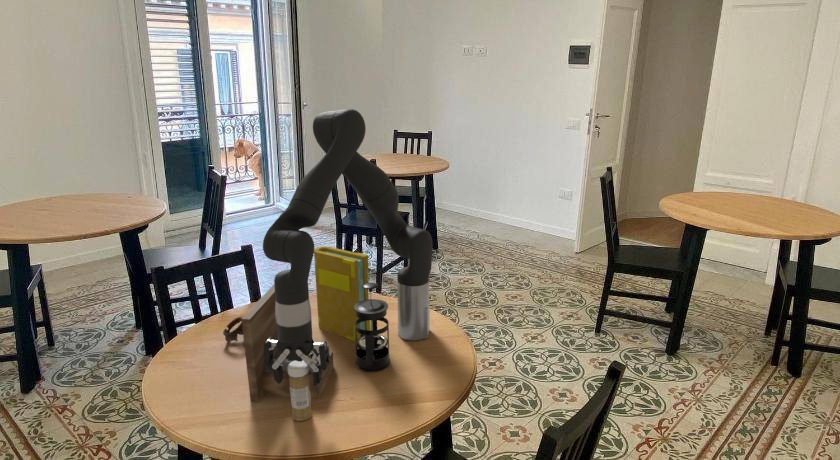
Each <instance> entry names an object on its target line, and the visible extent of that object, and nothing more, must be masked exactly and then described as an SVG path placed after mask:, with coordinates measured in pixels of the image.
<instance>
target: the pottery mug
mask: <svg viewBox="0 0 840 460" xmlns="http://www.w3.org/2000/svg"><path fill="white" fill-rule="evenodd" d="M243 317H244V316H238V317H236V318H234V319H232V320H231V321H230V322H229V323H228V324H227V325H226V328H224V329H223V332H222V335H223V336H225V337H224V338H225V342H228V343H229V342H232V341H235V342H238V335H239V336H243V328H242V318H243ZM239 323H240V324H239ZM237 324H239V325H237ZM236 325H237V327H236V328H235V329H233V328H234V327H235V326H236ZM232 329H233V330H232ZM231 330H232V331H231Z"/></svg>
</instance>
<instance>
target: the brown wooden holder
mask: <svg viewBox="0 0 840 460" xmlns="http://www.w3.org/2000/svg"><path fill="white" fill-rule="evenodd" d="M275 305H276V300H275V286H274V284H273V285H272V286H271V287H270V288H269V289H267V291H266V292H265V293H264V294H263V295H262V296H261V297H260V298H259V300H258V301H256V303H254V305H253V306H252V307H251V308H250V309H249V310H248V312H246V313H245V315H244V316H242V317H243V318H242V321H241V322H242V328H243V335H242V336H243V343H244V354H245V362H246V371H247V382H248V390H249V399H250V402H251V403H259V402H260V401H261V399H262V398H263V396H272V397H273V396H276V397H290V398H291V395H290V381H289V374H288V365H289V364H290V363H291V362H293V361H288V359H286V358H285V359H284V360H283V362H282V363H281V365H282V370H283V380H282V382H281V383H280V384H279V383H277V381H275V379H274V371H273V368H272V367H271V366H265V365H264V343H265V341H266V340H267V339H268V338H269V337H271V338H272V339H273V340H277V341H278V338H277V327H276V318H275ZM327 346H328V355H329V364H328V366H327V368H326V370H321V373H322V379H321V381H320V383H319V384H318V385H317V386H314V383H313V371H314V370H313V369H312V368H311V367H310V366H308V368H309V371H308V378H309V390H310V398H311V399H320V397H321V394H322V393H323V391H324V389H325V387H326V385H327V382H328V381H329V379H330V377H331V374H332V372H333V370H334V368H335V367H334V366H335V365H334V350H330V345H329V344H327ZM312 351H313V352H314V353H315V354H316V357H317V358H318V360H319V361H320V354H319V353H317V350H316V349H315V348H313V350H312ZM280 355H281V352H280V351H279V350H278V348H277V347H276V346H275V348H274V349H273V359H276V360H277V358H278V357H279V356H280ZM308 357H309V355H308ZM309 358H310V357H309ZM294 361H296V360H294Z"/></svg>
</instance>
